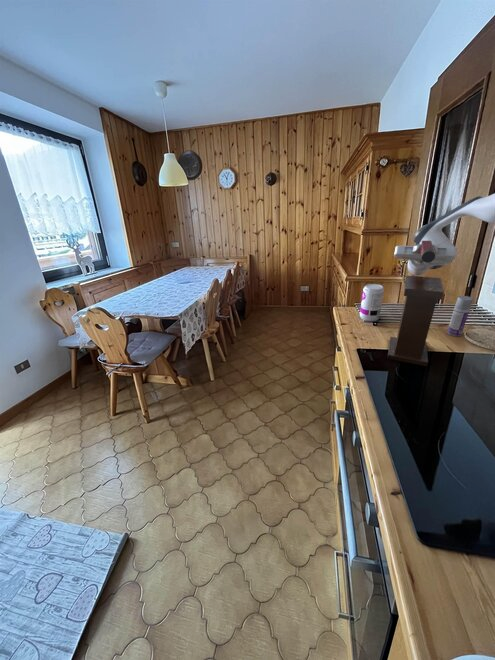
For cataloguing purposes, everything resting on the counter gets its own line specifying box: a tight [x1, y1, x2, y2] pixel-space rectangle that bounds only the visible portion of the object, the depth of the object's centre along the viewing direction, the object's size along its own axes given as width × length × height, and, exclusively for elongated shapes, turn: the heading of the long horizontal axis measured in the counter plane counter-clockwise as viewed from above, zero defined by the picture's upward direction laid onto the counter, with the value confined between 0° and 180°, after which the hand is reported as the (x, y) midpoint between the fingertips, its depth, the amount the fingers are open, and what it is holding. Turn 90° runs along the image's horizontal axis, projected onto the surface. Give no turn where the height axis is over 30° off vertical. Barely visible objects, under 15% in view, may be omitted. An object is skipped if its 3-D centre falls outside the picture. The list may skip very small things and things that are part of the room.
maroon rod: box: [421, 241, 435, 263], centre depth 98 cm, size 22×4×4 cm, turn 152°
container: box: [446, 295, 474, 337], centre depth 108 cm, size 5×5×15 cm
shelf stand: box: [386, 275, 445, 367], centre depth 96 cm, size 14×12×26 cm
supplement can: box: [359, 283, 385, 322], centre depth 124 cm, size 8×8×15 cm
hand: (426, 246), depth 102 cm, fingers closed on maroon rod, 3 cm apart
